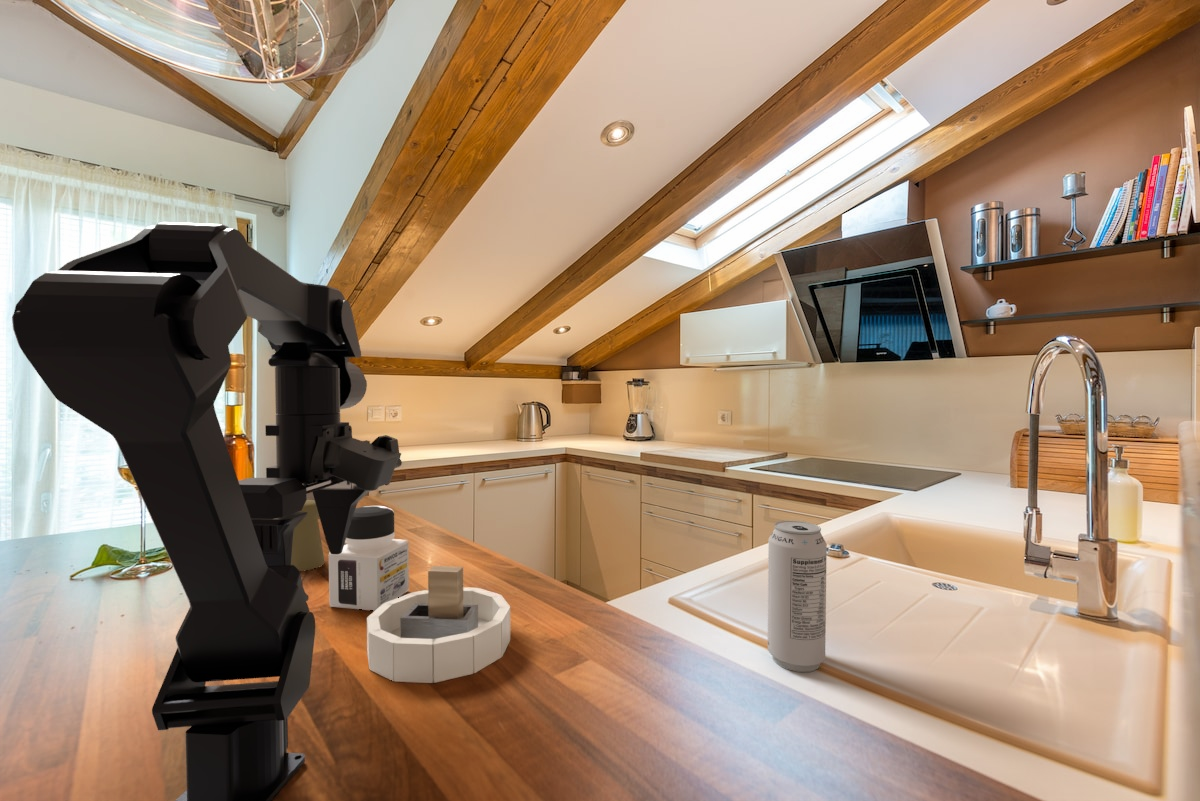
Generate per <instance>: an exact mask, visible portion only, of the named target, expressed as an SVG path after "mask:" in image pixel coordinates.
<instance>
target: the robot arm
mask: <svg viewBox="0 0 1200 801" xmlns="http://www.w3.org/2000/svg"><path fill="white" fill-rule="evenodd" d="M353 315H354V314H353V309H352V306H351V304H350V301H349V300H346V299H345V296H344V294H343V293H342V292H341V291H340V289H338V288H336V287H332V286H329V285H324V284H316V283H307V282H303V281H300V280H298V279H297V278H296V277H294V276H293V275H292V274H290V273H288V272H287V271H286V270H284V269H283V268H282V267H280V266H279V265H278V264H276V263H275V262H273V261H272V260H270V259H269V258H268V257H266V256H265V255H263V254H262V253H260V252H259V251H258V250H256V249H255V248H253V247H252V246H251V245H249V244H248V242H247V240H246V237H245V236H244V235H243V233H242V232H241V231H240V230H238V229H236V228H230V227H229V226H227V225H225V224H222V223H221V224H220V223H200V222H199V223H198V222H196V223H194V222H175V221H174V222H171V221H170V222H169V221H163V222H159V223H156V224H155V225H150V226H146V227H145V228H144V229H142V230H141V231H140V232H139V233H137V234H136V235H135V236H134V237H133V238H132V239H129V240H127V241H124V242H121V243H118V244H116V245H113V246H109V247H106V248H104V249H101V250H98V251H96V252H92V253H90V254H89V253H88V254H87V255H83V256H81V257H78V258H75V259H72V260H70V261H68V262H66V264H64V265H63V266H61V267H59V268H58V269H57V270H53V271H48V272H44V273H43V274H40V276H38V277H37V278H36V279H34V280H33V281H32V282H31V283H30V285H29V287H28V288H27V290H26V291H25V293H24V294H23V296H22V297H21V298H20V299H19V301H18V302H17V303H16V304H15V307H14V311H13V314H12V316H11V321H12V323H11V324H12V330H13V332H14V335H15V338H16V342H17V344H18V345H17V346H18V347H19V348H20V349H21V351H22V353H23V355H24V357H26V359H27V360H28V362H29V363H30V364H31V367H33V369H34V370H35V372H36V373H37V375H38V376H39V377H40V378H41V379H42V381H43V382H44V384H45V385H46V387H47V389H48V390H49V391H50V392H51V394H52V395H53V396H54V398H55V399H56V400H57V401H58V402H60V403H61V404H63V405H65V407H68V408H70V409H71V410H72V411H74V412H75V413H77V414H79V415H80V416H82V417H83V418H85V419H87V420H88V421H90V422H91V423H93V424H94V425H96V426H98V427H99V428H101V429H102V430H104V431H105V432H107V433H108V434H110V435H111V436H112V437H113V439H114V440H115V441H116V444H117V446H118V448H119V450H120V453H121V455H122V457H123V459H124V461H125V463H126V466H127V468H128V470H129V472H130V475H131V476H132V479H133V481H134V483H135V485H136V488H137V490H138V492H139V494H140V496H141V499H142V501H143V503H144V506H145V508H146V509H147V512H148V514H149V517H150V519H151V521H152V523H153V526H154V527H155V530H156V531H157V534H158V537H159V539H160V541H161V543H162V546H163V547H164V549H165V552H166V553H167V556H168V557H169V561H170V563H171V564H172V567H173V569H174V572H175V574H176V576H177V578H178V580H179V582H180V584H181V587H182V589H183V591H184V593H185V596H186V597H187V600H188V603H189V608H188V611H187V612H186V615H185V617H184V619H183V621H182V622H181V625H180V627H179V629H178V631H177V633H176V635H175V642H176V646H177V647H176V650H175V653H174V655H173V658H172V660H171V662H170V664H169V667H168V669H167V672H166V675H165V677H164V679H163V681H162V683H161V686H160V689H159V690H158V693H157V696H156V698H155V701H154V703H153V706H152V708H151V715H152V717H153V720H154V723H155V725H156V728H157V730H158V731H168V730H169V729H174V728H175V729H176V728H188V729H186V730H185V763H186V764H185V765H186V766H185V767H186V768H185V769H186V774H185V775H186V790H185V791H184V792H183V793H182V794H181V795H179V796H178V797H177V799H175V800H174V801H272V800H273V799H274V797H275V796H276V795H277V794H278V793H279V792H280V791H281V790H282V788H283V787H284V786H285V785H286V784H287V783H288V782H289V780H290V779H291V778H293V776H294V775H295V774H296V772H297V771H298V770H299V769H300V768H301V767H302V766H303V765H304V763H305V762H306V754H305V753H302V752H300V753H299V752H288V748H289V731H288V730H289V728H288V727H289V724H288V722H289V720H288V718H289V716H290V715H291V713H292V712H293V710H294V709H295V707H296V706H297V705H298V703H299V702H300V700H301V699H302V698H303V696H304V694H306V692H307V691H308V689H309V688H310V684H311V682H310V681H311V674H312V673H311V672H312V665H313V656H314V655H313V654H314V646H315V638H316V636H315V635H316V618H315V615H314V613H313V612H312V611H310V608H309V606H308V601H309V594H307V593H306V591H305V588H304V585H303V580H302V574H301V572H300V571H299V570H298V569H297V568H296V567H295V566H294V565H291V556H292V543H293V531H294V528H295V527H296V526H297V525H298V524H299V523H300V522H301V521H302V519H303V518H304V517H305V516H306V515H307V513H308V512H299V511H301V510H302V508H303V506H304V504H305V502H306V500H308V499H307V494H311V493H312V495H313V500H315V503H316V507H317V510H318V514H319V520H320V524H321V528H322V532H323V535H324V538H325V542H326V544H327V547H328V550H329V552H330V553H331V554H340V553H341V552H342V550H343V547H344V545H345V544H346V543H345V540H346V537H347V533H348V530H349V527H350V524H351V520H352V517H353V514H354V511H355V508H357V505H358V503H359V502H360V501H361V499H362V500H363V498H364V497H365V496H366V495H367V494H369V493H370V492H371V491H376V490H378V489H379V488H380V487H382V486H389V485H390V484H391V480H392V477H393V475H394V472H395V469H397V468H400V467H401V466H402V465H403V463H402V462H403V461H402V460H401V456H402V453H401V452H400V449H399V440H398V439H397V438H395V437H393V436H390V435H380V436H378V437H376V438H375V439H374V440H373V441H372V442H371V441H370V440H369V439H368V440H367V439H366V440H359V439H358V438H355V437H353V431H352V430H353V428H352V426H351V425H350V422H349V421H347V422H345V421H342V422H341V410H345V409H350V408H351V407H352V408H353V407H354V406H356V405H357V404H359V403H360V402H361V401H362V400H363V399H364V397H365V395H366V392H367V389H368V388H367V386H368V383H367V382H368V381H367V380H366V376H365V374H364V373H363V371H362V370H361V369H360V367H358V366H357V365H356V364H354V363H353V362H350V358H359V359H360V358H361V357H362V351H361V350H362V349H361V346H360V341H359V337H358V332H357V328H356V324H355V323H356V322H355V318H354V316H353ZM248 317H249V318H252V319H253V320H256V321H257V332H258V333H259V334H260V335H261V336H263V337H264V338H265V339H267V341H268V343H269V346H270V348H271V350H274V353H272V354H271V355H270V357H269V359H268V360H267V361H268V365H269V366H270V367H272V368H273V367H274V385H275V386H274V389H275V391H274V392H275V393H274V396H275V397H274V398H275V399H274V400H275V402H274V403H275V424H267V425H265V436H266V437H275V455H276V457H275V458H276V465H273V466H268V467H266V468H265V470H266V472H265V476H266V477H248V478H243V479H240V480H239V479H238V476H237V473H236V469H235V467H234V464H233V462H232V461H233V460H232V458H231V455H230V452H229V449H228V446H227V443H226V440H225V437H224V434H223V431H222V428H221V426H220V421H219V419H218V416H217V413H216V412H217V411H216V408H215V402H216V399H217V397H218V395H219V394H220V393H219V392H220V390H221V388H222V386H223V383H224V381H225V380H226V377H227V375H228V373H229V370H230V368H231V366H232V358H231V353H230V348H229V345H230V344H231V342H232V341H233V340H234V338H235V337H236V335H237V334H238V332H239V331H240V329H241V328H242V326H244V324H245V322H246V320H247V319H248ZM277 677H279V678H278V680H276V681H274V680H273V681H261V682H248V683H247V682H246V683H233V684H221V685H219V684H218V685H207V686H206V683H207V682H221V681H233V680H234V681H235V680H236V681H238V680H250V679H251V680H253V679H262V678H264V679H265V678H266V679H267V678H277Z"/></svg>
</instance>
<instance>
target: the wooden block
mask: <svg viewBox="0 0 1200 801" xmlns="http://www.w3.org/2000/svg"><path fill="white" fill-rule="evenodd" d="M427 584H428V585H427V586H428V587H427V590H428V617H461V618H463V587H464V567H463V566H449V565H448V566H447V565H444V566H443V565H434V566H432V567H431V568H430V569H429V570H427Z"/></svg>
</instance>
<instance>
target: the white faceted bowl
mask: <svg viewBox="0 0 1200 801" xmlns="http://www.w3.org/2000/svg"><path fill="white" fill-rule="evenodd" d="M415 603H428V589H425V590H424V589H423V590H418V591H413V592H409V593H407V594H403V595H401V596H400V597H399V598H396V599H393V600H391V601H388V602H385V603H383V604H382V605H381V606H380V607H379V608H377V609H376V610H375V611H372V613H371V614H369V615H368V616H367V617H366V648H367V649H366V653H367V662H368V668H369V671H371V672H373V673H375V674H377V675H379V676H381V677H383V678H386V679H387V680H390V681H391V680H392V682H394V683H395V682H396V683H397V682H398V683H421V684H422V683H424V684H433V683H440V682H444V681H448V680H452V679H457V678H461V677H466V676H469V675H473V674H476V673H478V672H479V671H481V670H483V669H484V668H486V667H488V666H489V665H491V664H492V663H494V662H496V661H499V659H501V658H502V657H503V656H504V655H505V652H506V649H507V647H508V645H509V644H510V642H511V605H510V604H509V603H508V602H507V601H506V599H505V598H504V597H503V595H502V594H500V593H497V592H493V591H489V590H487V589H484V588H480V587H467V586H463V605H478V628H476V629H474V630H472V631H470V632H467V633H462V634H457V635H451V636H446V637H441V638H436V639H421V638H401V622H400V618H401V617H402V616H403V615H404V614H405V613H406V612H407V611H408V610H409V609H410V608H411V607H412V606H413V605H414V604H415Z"/></svg>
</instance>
